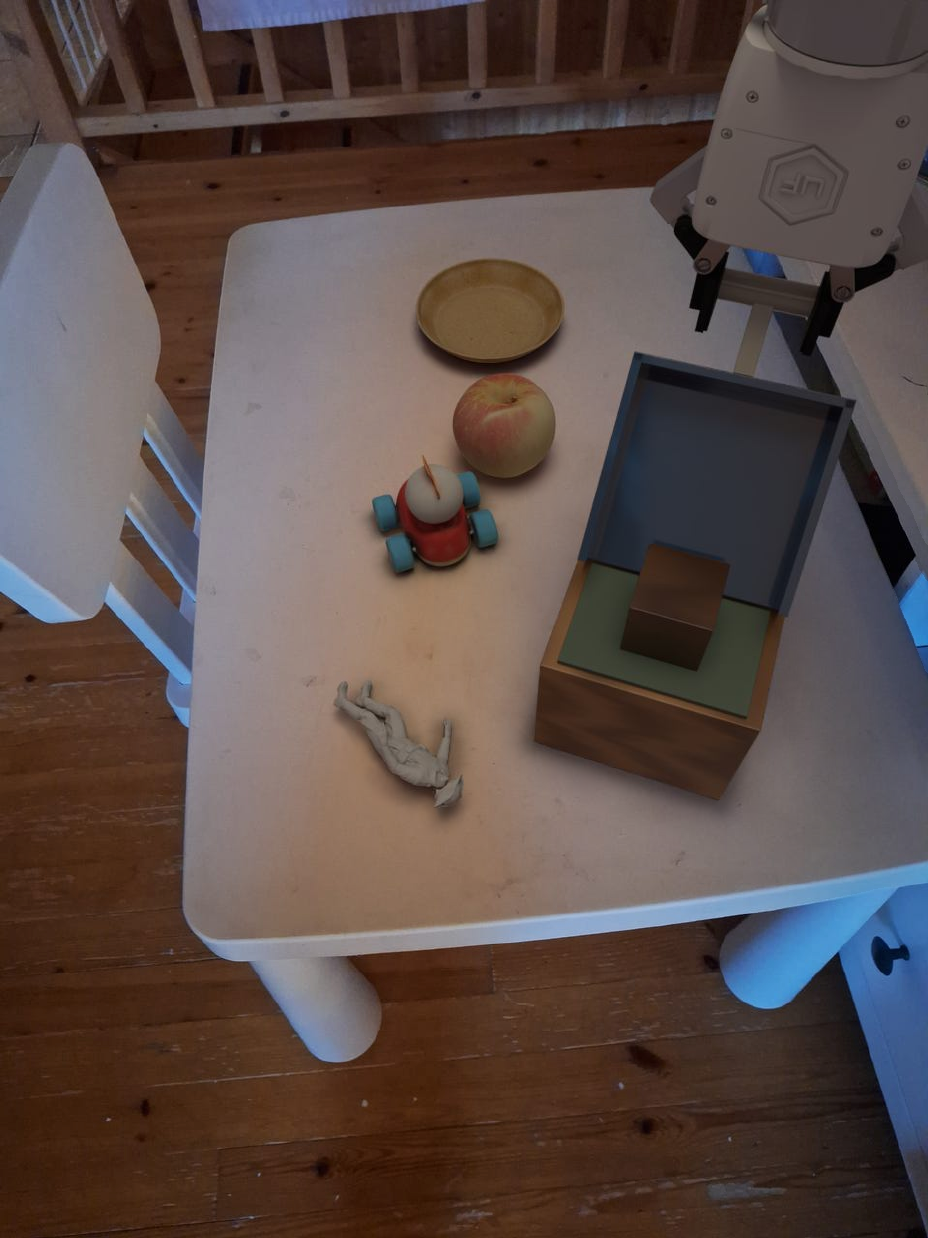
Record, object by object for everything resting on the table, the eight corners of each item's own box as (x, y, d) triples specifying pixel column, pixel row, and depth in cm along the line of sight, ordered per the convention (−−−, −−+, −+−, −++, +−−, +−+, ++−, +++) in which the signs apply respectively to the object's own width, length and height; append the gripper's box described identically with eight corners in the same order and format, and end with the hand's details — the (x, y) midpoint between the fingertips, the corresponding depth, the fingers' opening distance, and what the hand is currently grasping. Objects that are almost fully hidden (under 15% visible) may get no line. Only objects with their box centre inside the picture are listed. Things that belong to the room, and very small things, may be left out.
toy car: (469, 480, 81) (466, 400, 73) (502, 556, 77) (502, 479, 68) (371, 507, 80) (356, 428, 71) (398, 585, 75) (385, 511, 67)
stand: (775, 553, 76) (818, 457, 66) (719, 800, 65) (760, 731, 55) (613, 511, 79) (630, 413, 68) (533, 741, 68) (539, 665, 57)
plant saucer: (575, 289, 94) (577, 268, 92) (546, 389, 87) (548, 368, 84) (439, 270, 96) (437, 249, 94) (399, 365, 89) (397, 345, 87)
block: (730, 563, 54) (713, 631, 52) (713, 607, 59) (697, 671, 56) (649, 542, 56) (629, 607, 53) (638, 587, 60) (619, 649, 57)
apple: (440, 475, 81) (435, 412, 75) (482, 410, 86) (481, 344, 79) (529, 507, 79) (532, 444, 72) (567, 438, 83) (574, 373, 76)
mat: (769, 614, 59) (770, 610, 58) (745, 719, 55) (747, 716, 55) (591, 565, 61) (591, 562, 61) (557, 663, 57) (557, 660, 57)
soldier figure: (396, 678, 72) (507, 744, 65) (380, 733, 73) (487, 805, 66) (322, 680, 66) (434, 753, 59) (305, 740, 67) (413, 820, 60)
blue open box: (874, 314, 56) (891, 296, 51) (780, 610, 59) (788, 618, 54) (663, 272, 58) (661, 250, 53) (584, 556, 61) (576, 560, 57)
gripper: (645, 12, 39) (602, 339, 55) (1069, 75, 36) (895, 404, 51) (684, -65, 43) (633, 262, 58) (1072, -14, 39) (909, 318, 55)
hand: (756, 326), depth 55 cm, fingers closed on blue open box, 5 cm apart
